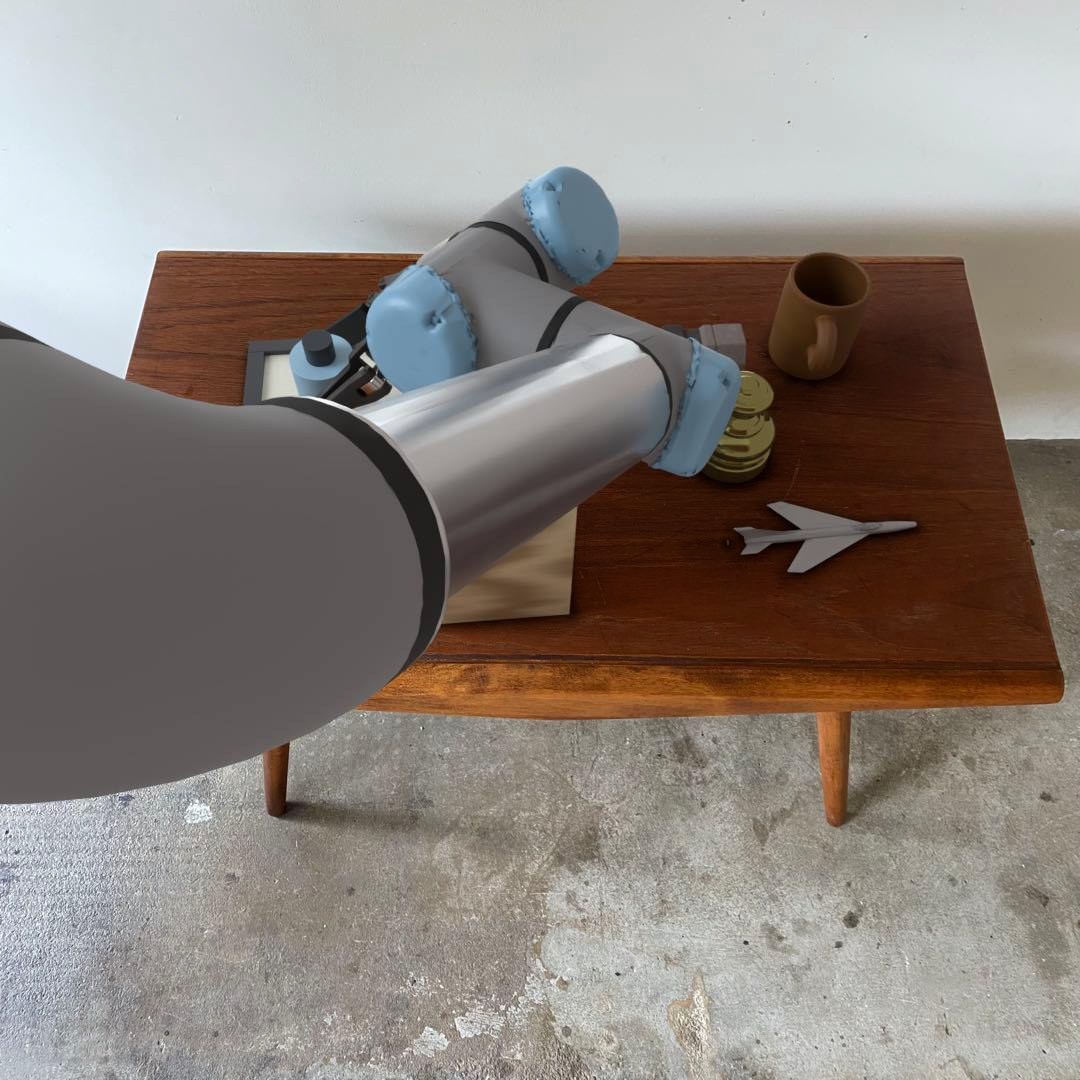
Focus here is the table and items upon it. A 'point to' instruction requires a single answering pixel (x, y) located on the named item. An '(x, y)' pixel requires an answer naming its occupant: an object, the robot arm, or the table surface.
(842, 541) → the toy airplane
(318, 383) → the cleaner bottle
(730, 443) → the brass weight
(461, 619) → the stand
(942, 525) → the table surface
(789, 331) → the mug
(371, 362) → the whiteboard
